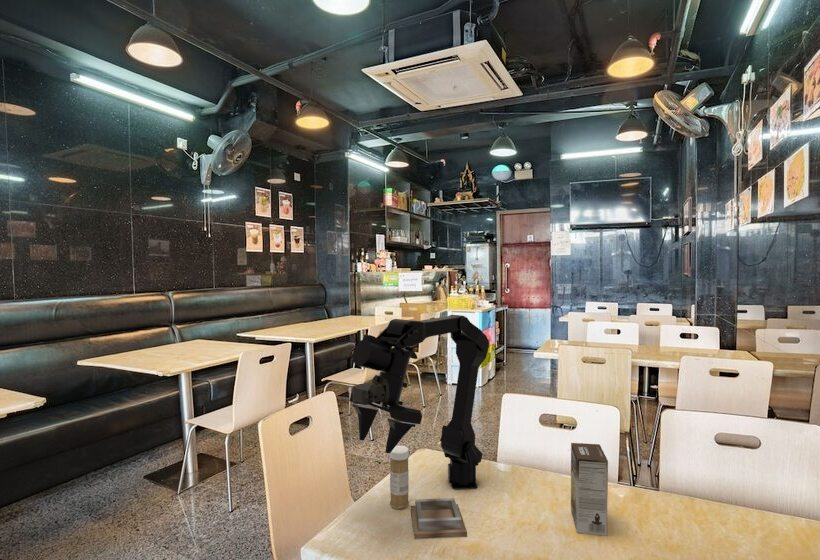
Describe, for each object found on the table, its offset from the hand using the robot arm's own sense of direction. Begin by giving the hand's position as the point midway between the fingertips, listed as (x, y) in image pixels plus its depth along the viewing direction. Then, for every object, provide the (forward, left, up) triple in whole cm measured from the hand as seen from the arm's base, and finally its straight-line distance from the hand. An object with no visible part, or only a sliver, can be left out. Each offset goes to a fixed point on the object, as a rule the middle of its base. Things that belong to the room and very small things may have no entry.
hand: (374, 446), depth 95 cm
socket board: (-14, -1, -18) cm, 22 cm away
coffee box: (-47, +2, -18) cm, 50 cm away
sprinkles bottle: (-6, -9, -18) cm, 20 cm away
